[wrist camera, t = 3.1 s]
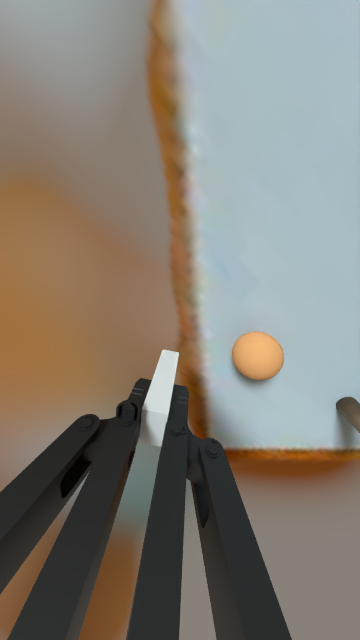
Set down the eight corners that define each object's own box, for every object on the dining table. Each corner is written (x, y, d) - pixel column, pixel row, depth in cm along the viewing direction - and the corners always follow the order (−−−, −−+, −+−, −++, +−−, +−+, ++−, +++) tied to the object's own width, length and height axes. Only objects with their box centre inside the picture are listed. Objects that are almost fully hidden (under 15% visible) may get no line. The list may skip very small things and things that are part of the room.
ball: (278, 329, 22) (303, 351, 17) (263, 365, 24) (281, 395, 19) (235, 320, 22) (246, 340, 17) (223, 357, 24) (231, 384, 19)
